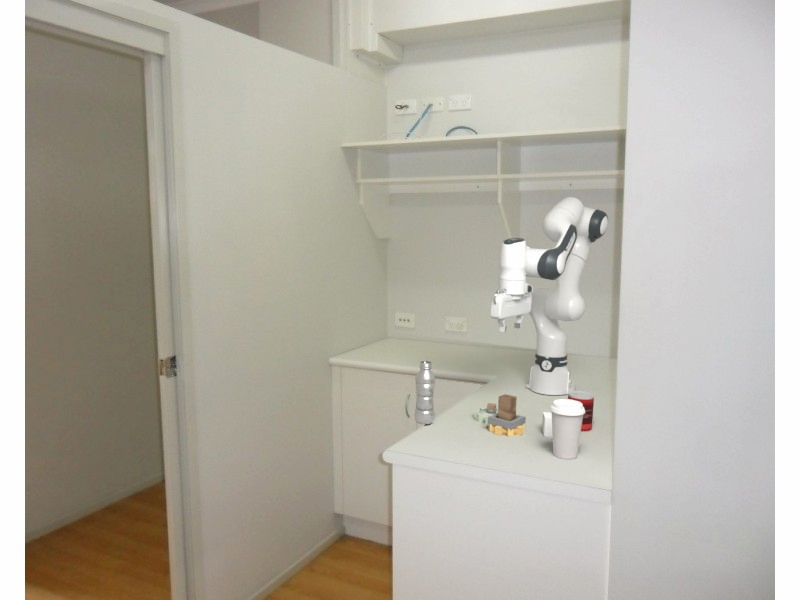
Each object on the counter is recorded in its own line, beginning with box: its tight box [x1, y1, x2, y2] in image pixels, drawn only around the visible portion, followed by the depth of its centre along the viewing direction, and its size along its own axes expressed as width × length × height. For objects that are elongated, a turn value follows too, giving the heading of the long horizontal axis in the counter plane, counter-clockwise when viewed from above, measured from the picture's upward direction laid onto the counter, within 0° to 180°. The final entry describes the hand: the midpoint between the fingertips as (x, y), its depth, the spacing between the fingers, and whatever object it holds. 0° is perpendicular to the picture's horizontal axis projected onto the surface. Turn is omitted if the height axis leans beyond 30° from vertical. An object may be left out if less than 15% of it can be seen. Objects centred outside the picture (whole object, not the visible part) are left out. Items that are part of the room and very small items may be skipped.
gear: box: [473, 402, 498, 425], centre depth 207 cm, size 11×11×5 cm
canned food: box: [567, 390, 595, 432], centre depth 200 cm, size 8×8×11 cm
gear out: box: [487, 413, 527, 438], centre depth 197 cm, size 11×11×4 cm
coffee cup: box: [549, 398, 585, 460], centre depth 176 cm, size 10×10×15 cm
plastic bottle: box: [414, 360, 436, 425], centre depth 201 cm, size 6×7×20 cm
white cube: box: [541, 411, 553, 438], centre depth 194 cm, size 6×6×6 cm
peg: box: [497, 393, 517, 421], centre depth 196 cm, size 4×4×8 cm
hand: (510, 329), depth 209 cm, fingers open, 8 cm apart
